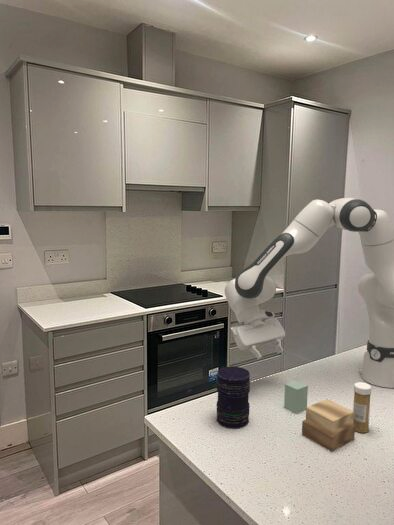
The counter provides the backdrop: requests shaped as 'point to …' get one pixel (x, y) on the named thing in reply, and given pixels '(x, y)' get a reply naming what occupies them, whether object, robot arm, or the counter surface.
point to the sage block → (295, 396)
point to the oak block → (329, 416)
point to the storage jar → (233, 397)
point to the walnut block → (328, 436)
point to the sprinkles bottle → (361, 406)
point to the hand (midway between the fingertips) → (270, 355)
